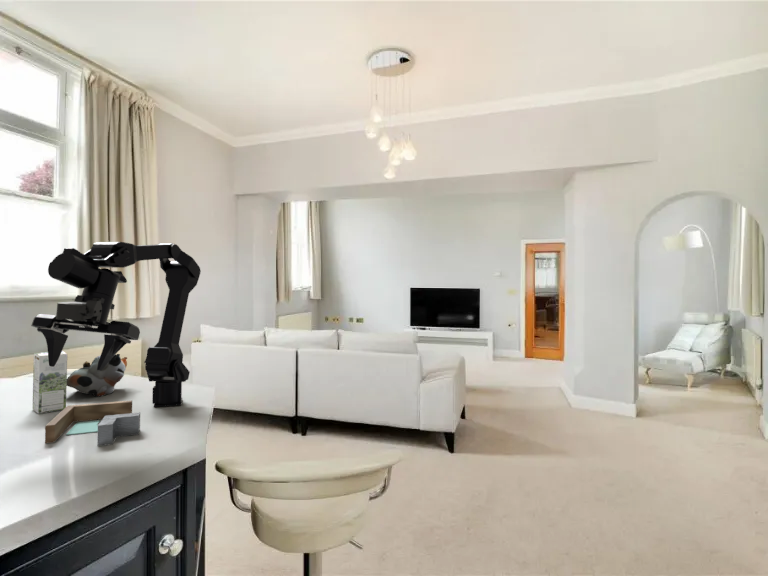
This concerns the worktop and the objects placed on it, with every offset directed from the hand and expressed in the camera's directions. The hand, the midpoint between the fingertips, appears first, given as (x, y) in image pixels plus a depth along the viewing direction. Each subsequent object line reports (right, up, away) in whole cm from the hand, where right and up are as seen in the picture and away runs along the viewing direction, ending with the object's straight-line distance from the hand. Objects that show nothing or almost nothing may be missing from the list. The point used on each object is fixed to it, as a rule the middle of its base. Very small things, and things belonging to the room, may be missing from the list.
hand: (75, 368), depth 86 cm
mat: (-2, -15, +8) cm, 17 cm away
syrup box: (-22, -15, +20) cm, 33 cm away
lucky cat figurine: (-22, -15, +38) cm, 46 cm away
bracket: (+8, -15, +2) cm, 17 cm away
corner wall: (-2, -15, +8) cm, 17 cm away
